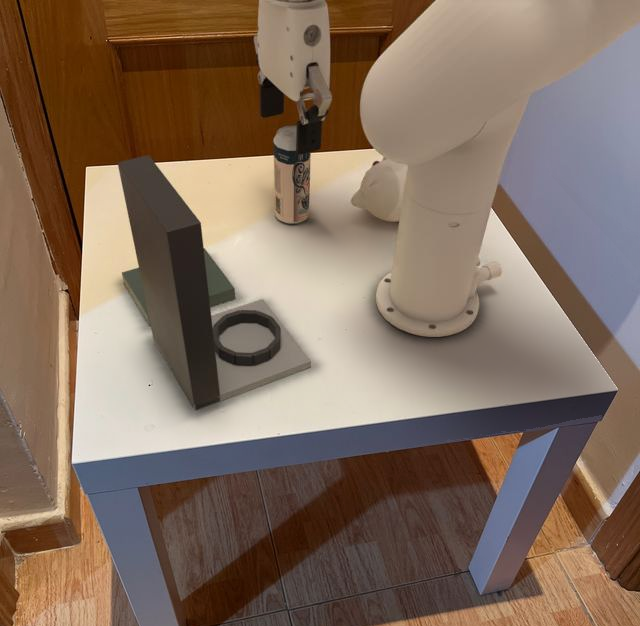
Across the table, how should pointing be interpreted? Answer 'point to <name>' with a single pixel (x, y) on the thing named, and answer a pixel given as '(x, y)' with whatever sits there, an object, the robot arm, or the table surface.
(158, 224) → the l-shaped can stand
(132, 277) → the dark green flat block
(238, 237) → the table surface
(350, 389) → the table surface
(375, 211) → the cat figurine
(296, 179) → the beer can
